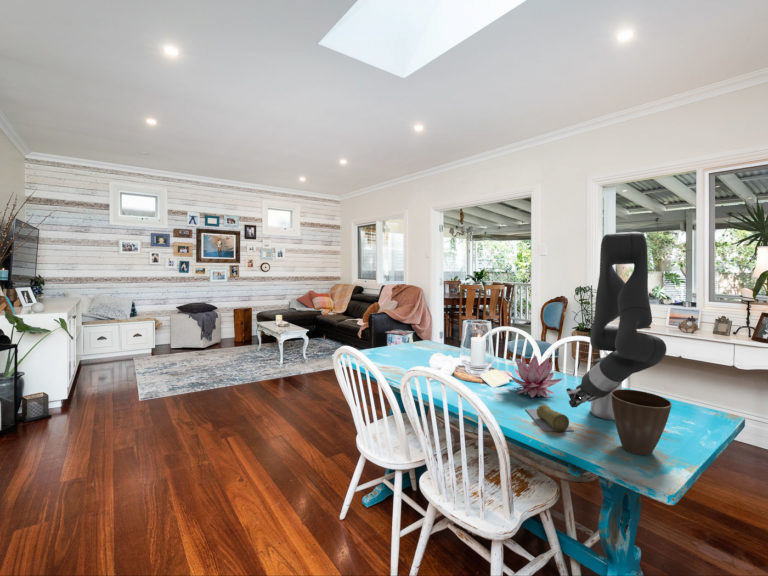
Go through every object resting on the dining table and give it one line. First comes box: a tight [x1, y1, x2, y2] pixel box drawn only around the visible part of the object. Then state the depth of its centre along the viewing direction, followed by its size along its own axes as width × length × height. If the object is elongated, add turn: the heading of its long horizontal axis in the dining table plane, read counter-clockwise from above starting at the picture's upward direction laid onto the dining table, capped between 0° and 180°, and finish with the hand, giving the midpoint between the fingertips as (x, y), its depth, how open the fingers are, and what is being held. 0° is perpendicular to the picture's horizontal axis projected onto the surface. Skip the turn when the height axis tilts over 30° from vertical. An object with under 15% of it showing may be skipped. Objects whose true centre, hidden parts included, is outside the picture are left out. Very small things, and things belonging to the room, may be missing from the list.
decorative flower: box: [505, 355, 563, 399], centre depth 159 cm, size 21×21×15 cm
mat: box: [525, 408, 575, 432], centre depth 133 cm, size 18×10×1 cm, turn 178°
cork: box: [536, 404, 570, 433], centre depth 129 cm, size 6×6×11 cm
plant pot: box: [611, 388, 673, 456], centre depth 112 cm, size 15×15×16 cm
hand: (572, 404), depth 118 cm, fingers closed
